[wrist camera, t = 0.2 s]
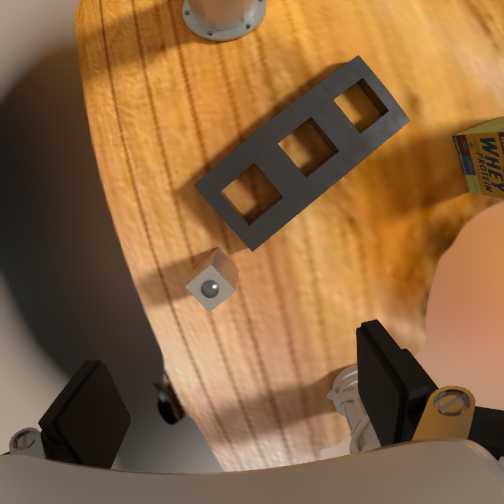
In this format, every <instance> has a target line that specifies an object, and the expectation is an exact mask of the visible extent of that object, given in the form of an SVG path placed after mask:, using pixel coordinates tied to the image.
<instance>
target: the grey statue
mask: <svg viewBox="0 0 504 504" xmlns="http://www.w3.org/2000/svg"><path fill="white" fill-rule="evenodd" d="M327 398H329V399H331V400H333V402H334V405H335V408H336V410H337V411H338V413H339V414H341V415H343V416H345V417H346V419H347V422H348V425H349V428H350V431H351V433H350V435H351V438H352V439H351V443H350V454H353V453H358V452H362V451H367V450H371V449H375V448H379V447H381V445H380V442H379V440H378V438H377V435H376V433H375V431H374V428H373V426H372V424H371V421H370V419H369V417H368V414H367V412H366V410H365V408H364V405H363V403H362V401H361V399H360V396H359V393H358V370H357V364H354V365H350V366H348V367H347V368H345V369H344V370H342V371H341V372H340V373H339V374H338V375H337V376H336V378H335V380H334V382H333V385H332V390H331V391H330V392H329V393H328V395H327Z"/></svg>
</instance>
